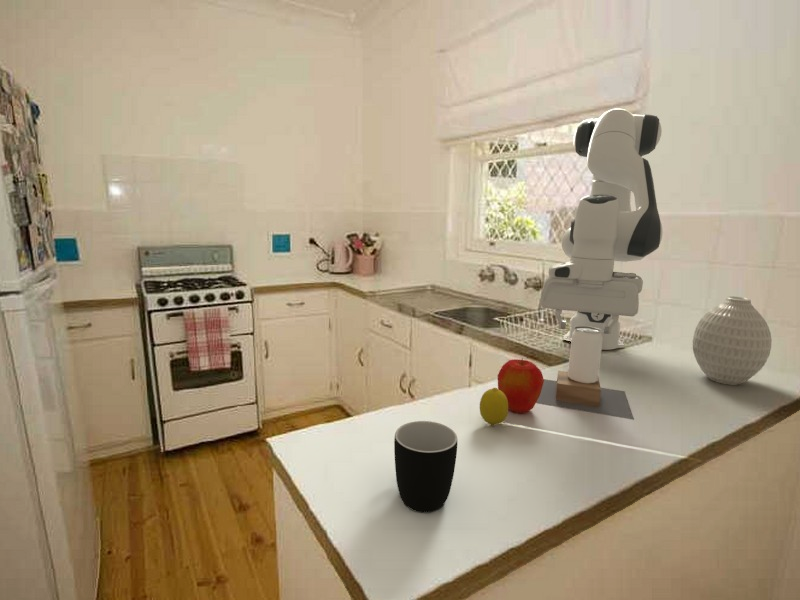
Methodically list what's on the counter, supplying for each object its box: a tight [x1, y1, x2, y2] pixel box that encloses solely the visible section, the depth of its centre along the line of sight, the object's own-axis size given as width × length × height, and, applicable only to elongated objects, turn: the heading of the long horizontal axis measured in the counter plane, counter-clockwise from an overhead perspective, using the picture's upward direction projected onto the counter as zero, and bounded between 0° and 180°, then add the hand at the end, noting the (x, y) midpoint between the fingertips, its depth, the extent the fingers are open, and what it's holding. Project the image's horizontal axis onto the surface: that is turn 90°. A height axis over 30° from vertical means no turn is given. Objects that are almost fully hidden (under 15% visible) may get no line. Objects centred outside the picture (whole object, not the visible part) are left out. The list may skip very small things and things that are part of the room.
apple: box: [497, 357, 545, 414], centre depth 92 cm, size 9×9×12 cm
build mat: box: [536, 378, 635, 420], centre depth 101 cm, size 16×22×1 cm
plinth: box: [556, 370, 602, 407], centre depth 101 cm, size 9×9×4 cm
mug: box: [393, 420, 458, 513], centre depth 64 cm, size 12×9×10 cm
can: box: [567, 326, 603, 384], centre depth 100 cm, size 6×6×12 cm
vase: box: [692, 295, 773, 386], centre depth 113 cm, size 16×16×22 cm
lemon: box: [479, 387, 509, 427], centre depth 86 cm, size 6×6×8 cm
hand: (584, 330), depth 99 cm, fingers open, 8 cm apart
